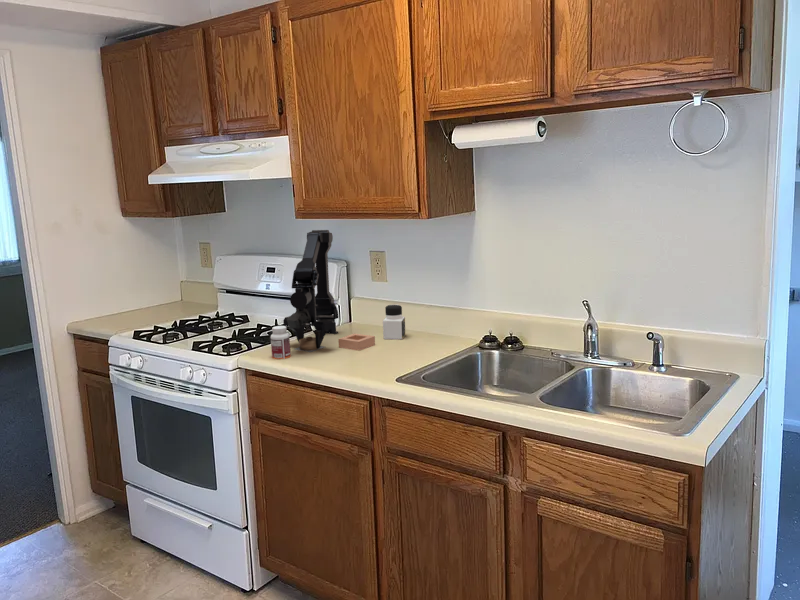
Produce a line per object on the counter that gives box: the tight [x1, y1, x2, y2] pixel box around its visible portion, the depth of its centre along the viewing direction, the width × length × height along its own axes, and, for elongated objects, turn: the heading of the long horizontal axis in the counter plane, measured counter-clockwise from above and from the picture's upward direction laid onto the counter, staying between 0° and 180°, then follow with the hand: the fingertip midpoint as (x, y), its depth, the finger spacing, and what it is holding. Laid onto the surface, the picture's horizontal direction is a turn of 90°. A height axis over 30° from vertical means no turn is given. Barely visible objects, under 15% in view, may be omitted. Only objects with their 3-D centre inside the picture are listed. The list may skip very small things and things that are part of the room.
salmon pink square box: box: [337, 332, 376, 352], centre depth 244 cm, size 9×9×4 cm
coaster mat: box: [293, 345, 325, 353], centre depth 244 cm, size 8×8×1 cm
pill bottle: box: [270, 325, 292, 360], centre depth 233 cm, size 6×6×11 cm
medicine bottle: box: [382, 304, 406, 340], centre depth 259 cm, size 7×7×12 cm
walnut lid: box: [298, 336, 320, 352], centre depth 243 cm, size 7×7×4 cm
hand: (309, 347), depth 244 cm, fingers open, 7 cm apart
